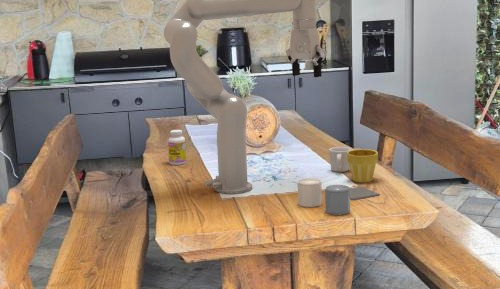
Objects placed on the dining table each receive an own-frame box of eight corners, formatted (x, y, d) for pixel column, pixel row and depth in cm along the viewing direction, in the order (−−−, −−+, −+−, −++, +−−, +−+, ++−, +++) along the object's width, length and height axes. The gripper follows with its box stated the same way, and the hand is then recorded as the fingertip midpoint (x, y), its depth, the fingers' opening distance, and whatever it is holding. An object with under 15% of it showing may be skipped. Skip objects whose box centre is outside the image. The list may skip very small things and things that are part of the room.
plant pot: (359, 185, 240) (358, 157, 238) (341, 179, 249) (340, 151, 247) (384, 181, 245) (384, 153, 243) (365, 174, 254) (365, 147, 252)
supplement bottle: (166, 164, 278) (164, 132, 276) (174, 160, 284) (172, 128, 281) (181, 165, 276) (179, 132, 273) (189, 161, 282) (187, 129, 279)
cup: (350, 175, 253) (350, 153, 252) (327, 175, 255) (327, 153, 253) (352, 168, 264) (352, 146, 262) (330, 167, 265) (330, 146, 263)
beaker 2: (334, 216, 209) (333, 192, 208) (321, 210, 215) (321, 186, 214) (353, 212, 212) (353, 188, 211) (341, 206, 218) (340, 183, 217)
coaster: (352, 200, 224) (352, 198, 224) (335, 192, 233) (335, 191, 233) (379, 195, 228) (379, 193, 228) (361, 188, 237) (361, 186, 237)
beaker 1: (305, 208, 218) (305, 185, 216) (294, 202, 224) (294, 180, 222) (325, 204, 221) (325, 181, 219) (313, 199, 227) (313, 177, 225)
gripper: (278, 25, 243) (280, 76, 247) (316, 25, 231) (318, 79, 235) (293, 23, 248) (295, 73, 252) (332, 23, 236) (333, 76, 240)
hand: (306, 76), depth 243 cm, fingers open, 9 cm apart
